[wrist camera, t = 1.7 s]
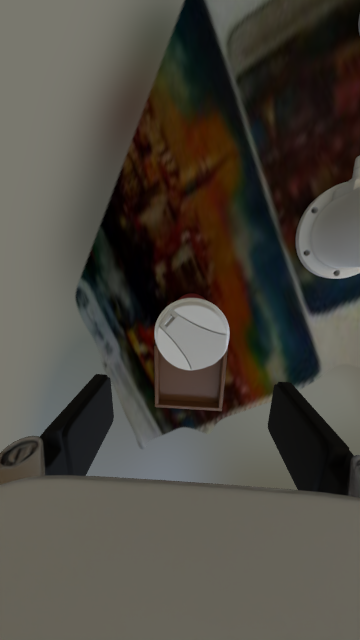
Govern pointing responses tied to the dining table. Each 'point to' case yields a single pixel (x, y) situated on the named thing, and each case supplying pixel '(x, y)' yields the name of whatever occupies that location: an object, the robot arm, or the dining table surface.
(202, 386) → the tray
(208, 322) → the paper cup
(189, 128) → the dining table surface
